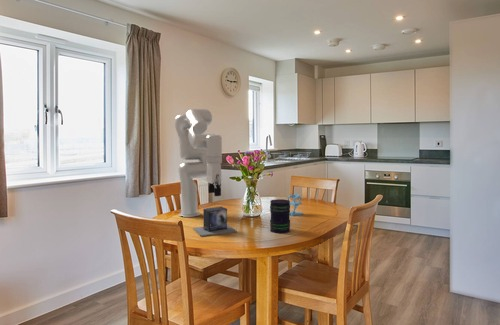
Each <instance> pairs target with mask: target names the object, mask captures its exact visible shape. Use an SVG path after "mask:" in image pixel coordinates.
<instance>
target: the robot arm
mask: <svg viewBox="0 0 500 325" xmlns="http://www.w3.org/2000/svg"><path fill="white" fill-rule="evenodd" d="M212 121H213V114H212V112H211V111H210V110H209V109H207V108H206V109H204V108H203V109H202V108H201V109H200V108H194V109H193V108H192V109H189V110H188V111H186V113H185V114H184V113H183V114H178V115H176V117H175V119H174V128H175V131H176V133H177V137H178V144H179V156H180V158H181V160H182V161H188V162H183V163H180V164H179V165H178V174H179V180H180V183H179V184H180V206H181V207H180V208H181V209H180V210H181V212H179V213H178V216H179V217H181V216H183V217H182V218H196V217H198V216H200V215H201V211H198V186H197V183H196V182H195V180H194V179H200V178H201V179H202V178H206V182H207V187H208V190H207V191H208V194H213V193H214V195H213V196H214V197H219V196H222V165H221V164H222V163H223V156H222V155H223V153H222V150H223V148H222V147H223V145H222V144H223V143H222V142H223V141H222V140H223V139H222V135H220V134H214V133H213V134H212V133H205V132H206V131H207V129H208V126H209V125H211V123H212ZM196 160H197V161H196ZM189 161H195V162H189Z"/></svg>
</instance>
